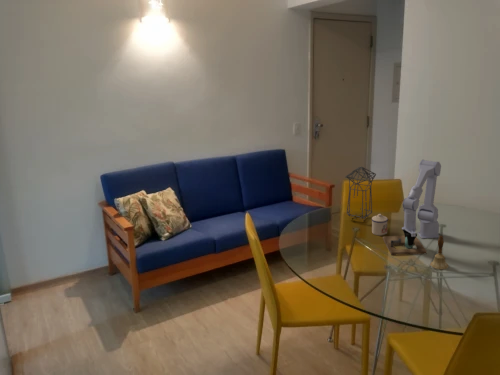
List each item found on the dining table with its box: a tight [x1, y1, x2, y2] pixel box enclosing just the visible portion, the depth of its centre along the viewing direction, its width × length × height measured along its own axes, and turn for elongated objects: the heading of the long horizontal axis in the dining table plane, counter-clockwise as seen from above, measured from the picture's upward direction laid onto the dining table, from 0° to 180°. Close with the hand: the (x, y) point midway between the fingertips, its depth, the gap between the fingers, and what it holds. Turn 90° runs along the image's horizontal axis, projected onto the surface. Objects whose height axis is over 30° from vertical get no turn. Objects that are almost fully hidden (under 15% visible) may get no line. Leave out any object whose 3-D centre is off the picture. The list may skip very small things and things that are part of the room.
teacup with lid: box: [371, 213, 389, 236], centre depth 253 cm, size 12×9×12 cm
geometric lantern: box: [345, 166, 377, 220], centre depth 269 cm, size 16×16×35 cm
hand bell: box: [429, 235, 449, 270], centre depth 210 cm, size 8×8×16 cm
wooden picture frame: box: [382, 235, 427, 256], centre depth 235 cm, size 18×20×2 cm
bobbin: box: [404, 237, 414, 249], centre depth 231 cm, size 4×4×5 cm
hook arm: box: [391, 238, 401, 247], centre depth 232 cm, size 5×1×6 cm, turn 86°
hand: (409, 243), depth 231 cm, fingers open, 4 cm apart
